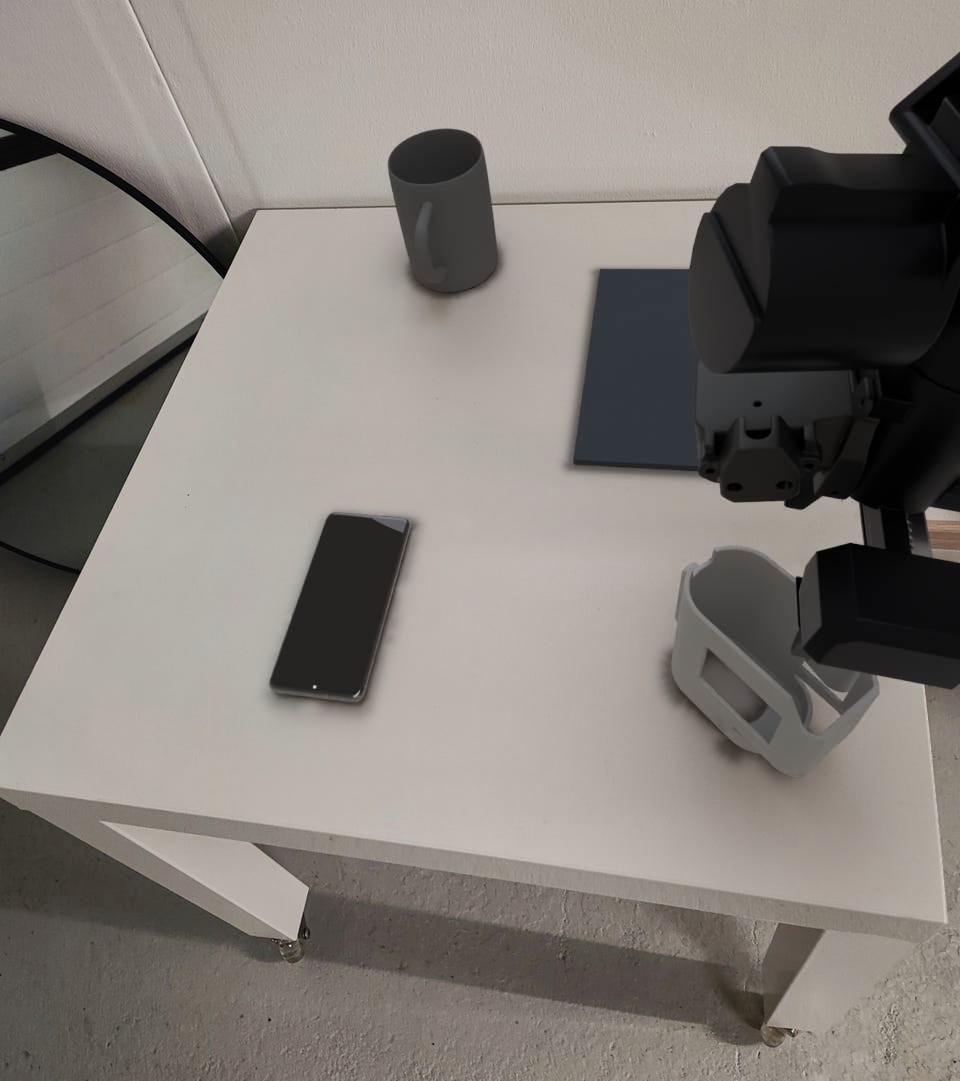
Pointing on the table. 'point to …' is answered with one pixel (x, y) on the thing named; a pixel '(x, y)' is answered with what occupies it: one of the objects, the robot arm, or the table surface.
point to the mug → (444, 208)
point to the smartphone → (341, 608)
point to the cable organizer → (760, 659)
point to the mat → (640, 373)
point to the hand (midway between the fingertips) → (796, 575)
